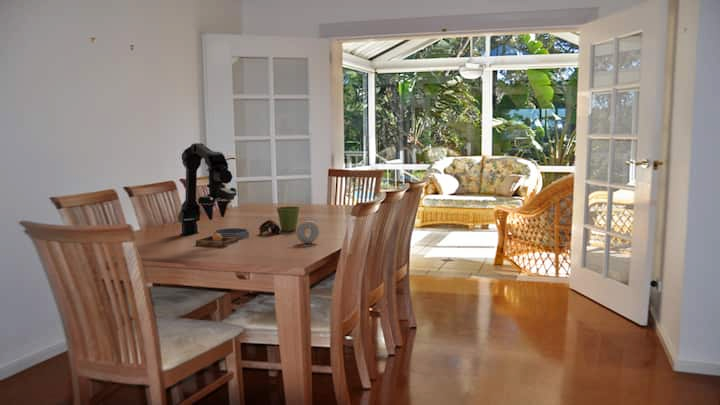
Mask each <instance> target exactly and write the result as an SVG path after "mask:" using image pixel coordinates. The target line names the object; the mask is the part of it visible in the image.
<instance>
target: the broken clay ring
mask: <svg viewBox="0 0 720 405" xmlns="http://www.w3.org/2000/svg"><path fill="white" fill-rule="evenodd" d="M258 229H259V234H260V235H262V234H264V233H266V232H267V233H270V231H271V233H277V234H278V235H280V236H281V235H282V232H281V231H282V230H281V227H280V226H279V224H278V223H277V222H276V221H275V220H272V219H268V220H266V221H264V222H263V223H262V224H260V226H259V227H258Z"/></svg>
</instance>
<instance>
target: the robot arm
mask: <svg viewBox="0 0 720 405" xmlns="http://www.w3.org/2000/svg"><path fill="white" fill-rule="evenodd" d="M203 159H204V164H206V166H207V167H208V168H207V169H206V172H208V184H207V185H206V187H207V188H208V191H209V193H208V194H206V195H204V196H199V198H197V178H198V177H197V175H198V174H197V173H198V170H199V168H200V167H201V164H202V160H203ZM181 160H182V165H183V167H184V168H185V200H184V201H183V203H182V204H181V208H180V211H179V214H178V216H177V220H178V222H179V223H181V233H179V235H180V236H182V235H183V236H193V235H197V234H199V233H200V232H198V223H197V222H200V219H201V207H202V209H203V210H204V212H205V214H206V216H207V218H208V220H210V221H211V220H212V221H213V216H214V214H213V212H214V207H215V206H216V205H217V206H218V209H219V213H220V217H221V218H225V214H226V210H227V209H228V206H229V205H230V203H232V201H233V200H234V199H235V196H237V194H238V193H237V188H235V187H231V188H226V184H229V183H231V182H232V180H233V174H232V172H231V171H230V170H229V163H228V161H227V159H226V156H225V155H224V153H223V152H221V151H214V150H212V149H210V148H209V147H207V146H206V145H204V143H201V142H200V143H198V142H197V143H191V145H190V146H189V147H187V148H185V149H184V150H183V152H182V153H181ZM216 203H217V204H216Z"/></svg>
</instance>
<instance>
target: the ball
mask: <svg viewBox="0 0 720 405" xmlns="http://www.w3.org/2000/svg"><path fill="white" fill-rule="evenodd" d="M212 236H213V241H217V242H221V241H222V236H221V235H220V234H215V235H214V234H213V235H212Z"/></svg>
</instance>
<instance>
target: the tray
mask: <svg viewBox="0 0 720 405" xmlns="http://www.w3.org/2000/svg"><path fill="white" fill-rule="evenodd" d="M213 236H214V235H211V236H207V237H203V238H200V239H197V240H195V246H197V247H198V246H200V247H210V246H212V248H214V247H215V248H222V249H223V248H225V249H226V248H228V247H229V246H230V245H233V244H235V243H238V242H239V239H238V238H231V237H222V241H221V242H217V241H213Z"/></svg>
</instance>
